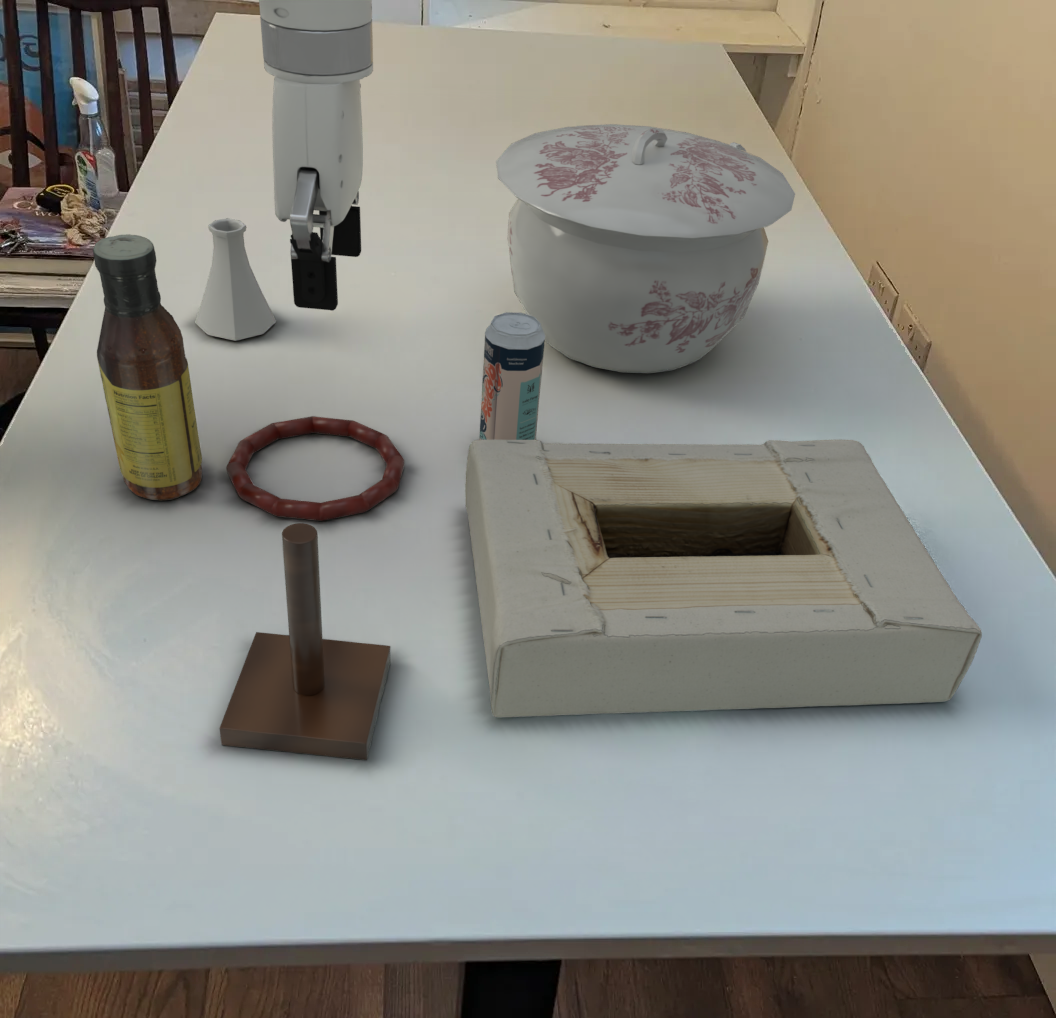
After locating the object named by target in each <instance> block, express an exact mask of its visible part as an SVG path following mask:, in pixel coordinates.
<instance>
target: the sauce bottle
mask: <svg viewBox="0 0 1056 1018" xmlns="http://www.w3.org/2000/svg"><path fill="white" fill-rule="evenodd" d="M92 253H93V260H94V261H93V262H94V267H95V268H96V270H97V271H98V273H99V276H100V283H101V287H102V292H103V304H104V311H103V316H102V317H103V318H102V321H101V327H100V332H99V338H98V342H97V347H96V348H97V349H96V358H97V363H98V368H99V373H100V378H101V383H102V390H103V393H104V399H105V403H106V409H107V413H108V417H109V423H110V424H109V425H110V427H111V432H112V438H113V442H114V443H113V444H114V447H115V453H116V457H117V462H118V467H119V471H120V473H121V475H122V479H123V482H124V483H125V484H126V487H127V488H128V490H130V491H131V493H132V494H134V495H135V496H137V497H141V498H144V499H146V500H150V501H173V500H175V499H179V498H180V497H183V496H185V495H187V494H189V493H191V492H193V491H194V490H196V489H197V488H198V487H199V485H200V483H201V482H202V477H203V476H202V474H203V471H202V470H203V468H202V462H203V454H202V449H201V443H200V436H199V430H198V423H197V417H196V408H195V402H194V396H193V389H192V383H191V376H190V369H189V362H188V359H187V357H186V353H185V352H186V351H185V344H184V338H183V334H182V331H181V328H180V327H179V326H178V323H177V322H176V320H175V318H174V316H173V315H172V314H171V313H170V312H169V311H168V310H167V309H166V308H165V307H164V306H163V305H162V303H161V301H162V296H161V292H160V291H159V286H158V279H157V274H156V265H157V253H156V250H155V245H154V243H153V242H152V241H151V240H150V238H147V237H145V236H141V235H137V234H130V233H127V234H116V235H112V236H107V237H104V238H101V239H99V240H98V241H96V243H95V244H94V246H93V248H92Z"/></svg>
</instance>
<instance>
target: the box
mask: <svg viewBox="0 0 1056 1018" xmlns="http://www.w3.org/2000/svg"><path fill="white" fill-rule="evenodd" d="M467 451H468V452H467V457H466V458H467V460H466V468H465V483H464V488H465V489H464V497H465V499H464V502H465V509H466V513H467V519H468V525H469V526H468V527H469V536H470V544H471V553H472V559H473V567H474V568H473V569H474V574H475V584H476V590H477V591H476V592H477V598H478V599H477V600H478V607H479V614H480V623H481V631H482V639H483V647H484V655H485V662H486V663H485V664H486V670H487V671H486V672H487V679H488V686H489V694H490V695H489V696H490V701H489V702H490V711H491V714H492V716H493V717H494V718H517V717H518V718H523V717H552V716H553V717H554V716H577V715H579V716H581V715H599V714H600V715H601V714H603V715H604V714H635V713H637V714H638V713H639V714H640V713H666V712H698V711H719V710H754V709H782V708H783V709H784V708H805V707H811V708H813V707H838V706H866V705H870V706H871V705H890V704H891V705H893V704H894V705H895V704H896V705H897V704H899V705H900V704H922V703H944V702H948V701H950V700H952V698H953V697H954V695H955V693H956V692H957V690H958V689H959V687H960V685H961V684H962V682H963V680H964V678H965V676H966V675H967V673H968V670H969V669H970V667H971V665H972V663H973V661H974V658H975V656H976V654H977V651H978V649H979V645H980V643H981V639H982V637H983V632H982V629H981V627H980V626H979V625H978V623H977V622H976V621H975V620H974V619H973V618H972V617H971V616H970V614H969V613H968V611H967V610H966V608H965V607H964V605H962V604H961V602H960V601H959V600H958V597H957V596H956V595H955V593H954V591H953V590H952V588H951V586H950V585H949V583H948V582H947V580H946V579H945V577H944V575H943V573H942V572H941V570H940V569H939V567H938V565H937V564H936V563H935V560H934V559H933V557H932V556H931V555H930V553H929V552H928V550H927V548H926V547H925V545H924V543H923V542H922V540H921V538H920V537H919V535H918V534H917V531H916V530H915V529H914V527H913V526H912V524H911V523H910V521H909V519H908V518H907V516H906V514H905V513H904V511H903V509H902V508H901V506H900V505H899V503H898V502H897V500H896V498H895V497H894V494H892V492H891V490H890V488H889V487H888V485H887V483H886V482H885V480H884V479H883V478H882V476H881V474H880V473H879V471H878V469H877V467H876V465H875V464H874V461H873V460H872V458H871V456H870V455H869V453H868V452H867V449H866V448H865V446H864V444H862V442H860V441H858V440H854V439H841V438H839V439H835V438H833V439H814V440H796V441H791V440H781V439H779V440H778V439H768V440H766V441H765V442H763V443H761V444H752V443H751V444H747V443H746V444H743V443H742V444H740V443H739V444H737V443H735V444H733V443H732V444H731V443H730V444H729V443H728V444H727V443H723V444H722V443H721V444H717V443H716V444H715V443H713V444H711V443H707V444H706V443H705V444H702V443H701V444H700V443H697V444H696V443H691V444H689V443H688V444H687V443H684V444H683V443H670V444H669V443H573V442H572V443H571V442H570V443H559V442H558V443H556V442H555V443H549V442H546V443H544V442H542V441H541V440H539V439H536V440H479V439H475V440H474V439H473V440H472V441H471V442H470V444H469V446H468V450H467Z"/></svg>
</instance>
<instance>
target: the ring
mask: <svg viewBox="0 0 1056 1018" xmlns="http://www.w3.org/2000/svg"><path fill="white" fill-rule="evenodd" d="M309 434H321V435H328V436H329V435H330V436H338V437H350V438H351V439H354V440H356V441H358V442H360V443H362V444H365V445H367V446H369V447H372V448H374V449H376V451H377V452H378V454H379V455H380V457H381V458H382V460H383V461H384V462H385V464H386V465H385V468H384V471H383V475H382V479H381V480H379V481H377V482H376V483H374V484H373V485H371V486H370V487H369V488H367V489H365V490H364V491H363V492H361V493H360V494H357V495H352V496H347V497H342V498H337V499H331V500H328V501H322V502H319V501H311V500H310V501H309V500H300V499H299V500H298V499H291V498H290V499H289V498H281V497H279V496H277V495H275V494H273V493H271V492H269V491H267V490H265V489H263V488H261V487H259V486H258V485H255V484H254V482H253V481H252V479H251V477H250V475H249V473H248V471H247V467H248V465H249V463H250V461H251V459H252V457H253V455H254V454H255V453H257V452H258V451H260V450H262V449H264V448H265V447H267V446H269V445H271V444H272V443H274V442H276V441H277V440H280V439H287V438H288V439H289V438H292V437H299V436H305V435H309ZM404 468H405V458H404V457H403V456H402V454H401V452H400V451H399V450H398V448H397V447H396V445H395V444H394V443H393V442H392V439H390V437H389V436H388V435H387V434H385V433H383V432H380V431H378V430H376V429H374V428H372V427H369V426H367V425H365V424H362V423H360V422H358V421H356V420H353V419H346V418H345V419H343V418H335V417H323V416H316V415H315V416H314V415H311V416H305V417H300V418H299V417H298V418H294V419H293V418H292V419H288V420H283V421H282V420H281V421H275V422H271V423H270V424H267V425H266V426H264V427H262V428H259V429H258V430H256V431H255V432H253V433H251V434H250V435H247V436H246V437H244V438H243V439H241V440H239V441H238V443H237V446H236V448H235V449H234V450H233V453H232V455H231V457H230V459H229V461H228V463H227V465H226V473H227V475H228V477H229V479H230V481H231V483H232V485H233V487H234V490H235V491H236V493H237V495H238V496H239V498H240V499H241V500H243V501H245V502H247V503H249V504H251V505H252V506H255V507H257V508H259V509H260V510H263V511H265V512H266V513H269V514H271V515H273V516H274V517H281V518H289V519H299V520H306V521H307V520H308V521H316V522H317V521H318V522H325V521H329V520H333V519H338V518H343V517H348V516H353V515H357V514H363V513H366V512H368V511H370V510H371V509H373V508H374V507H376V506H377V505H379V504H380V503H381V502H383V501H384V500H386V499H387V498H389V497H390V496H391V495H393V494H394V493H396V492H397V490H398V489H399V485H400V482H401V478H402V475H403V472H404Z"/></svg>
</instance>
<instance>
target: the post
mask: <svg viewBox="0 0 1056 1018" xmlns="http://www.w3.org/2000/svg"><path fill="white" fill-rule="evenodd" d="M318 535H319V534H318V530H317V528H316V527H315V526H313V525H311V524H309V523H306V522H305V523H304V522H296V523H291V524H289V525H287V526H286V527H284V528H283V530H282V532H281V541H282V542H281V543H282V555H283V556H282V557H283V569H284V583H285V584H284V585H285V599H286V611H287V625H288V634H278V633H269V632H260V631H255V634H254V636H253V640H252V642H251V645H250V648H249V650H248V653H247V655H246V657H245V660H244V662H243V665H242V668H241V671H240V672H239V673H240V674H239V675H238V678H237V680H236V683H235V687H234V689H233V692H232V694H231V697H230V699H229V702H228V704H227V707H226V710H225V711H224V712H225V713H224V715H223V716H222V717H223V718H222V720H221V723H220V725H219V728H218V729H219V736H220V737H219V738H220V743H221V746H228V747H237V748H239V747H240V748H246V749H254V750H255V749H257V750H267V751H275V752H285V753H295V754H304V755H315V756H322V757H323V756H324V757H333V758H334V757H335V758H343V759H353V760H362V761H367V760H368V758H369V753H370V749H371V745H372V740H373V735H374V731H375V727H376V723H377V719H378V715H379V711H380V707H381V702H382V699H383V694H384V690H385V687H386V682H387V678H388V674H389V670H390V666H391V645H384V644H378V643H377V644H375V643H365V642H359V641H357V642H356V641H347V640H337V639H327V638H323V622H322V621H323V620H322V618H323V617H322V601H321V599H322V598H321V580H320V579H321V577H320V559H319V558H320V557H319V536H318Z"/></svg>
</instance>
